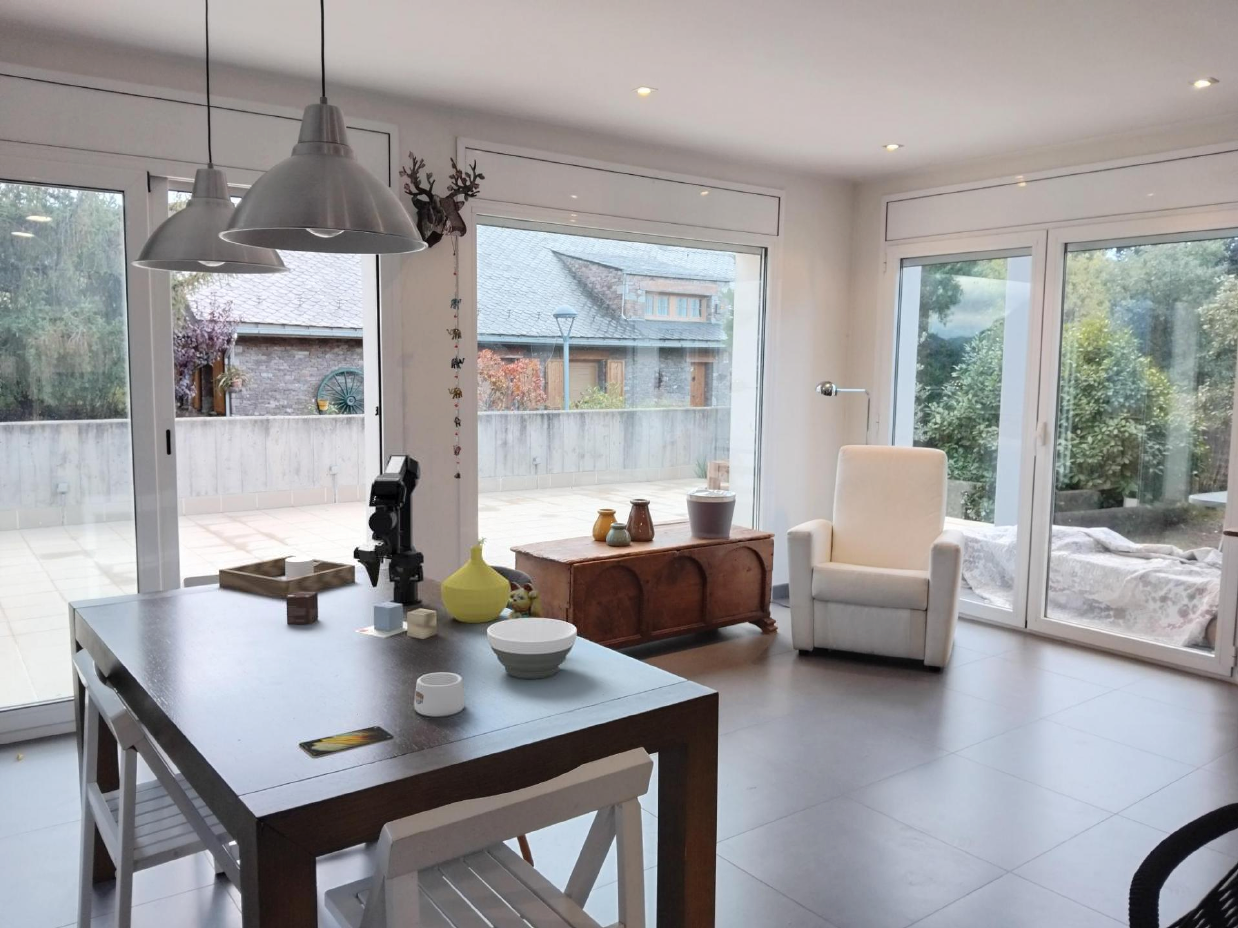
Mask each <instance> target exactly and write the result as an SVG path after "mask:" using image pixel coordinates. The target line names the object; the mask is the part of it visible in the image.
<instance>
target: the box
mask: <svg viewBox="0 0 1238 928" xmlns="http://www.w3.org/2000/svg"><path fill="white" fill-rule="evenodd" d="M318 593H319V592H318V591H315V592H301V591H296V592H294V593H292V594H290V595H288V596H287V597H286V599H285V600H286V601H285V602H286V624H287V625H311V624H312V623H314V622H315V621H317V620H318V619H319V604H318V603H319V598H318Z"/></svg>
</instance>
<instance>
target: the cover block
mask: <svg viewBox="0 0 1238 928" xmlns="http://www.w3.org/2000/svg"><path fill="white" fill-rule="evenodd" d="M406 614H407V615H406V622H407V630H406V631H407V632H406V635H407V637H410V638H411V637H412V638H417V639H421V640H424V639H426V638H429V637H432V636H435V635H437V610H431V609H426V608H417V609H414V610H412V611H408V612H406Z"/></svg>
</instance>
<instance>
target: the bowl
mask: <svg viewBox="0 0 1238 928" xmlns="http://www.w3.org/2000/svg"><path fill="white" fill-rule="evenodd" d="M577 635H578V629H577V627H576V626H575V625H574V624H572V623H569V622H567V621H564V620H560V619H553V618H547V617H546V618H545V617H542V618H519V619H511V620H507V619H506V620H501V621H497V622H495V623H493V624H491V625H489V626H488V628H487V629H486V637H487V641H488V645H489V646H490V648H491V650H492V652H494V654H495V655H496V657H497V660H498V661H499V663H500V664H501V665H502V666H504V669H505V672H506V674H508V675H510V676H512V677H514V678H517V679H523V680H539V679H545V678H548V677H551V676H553V675H554V674H556V673H557V672H558V670H559V667H560V665H562V664H563V662H565V660H566V658H567V656H568V654H569V653H570V652H571V650H572V648H573V647H574V645H575V643H576V639H577Z"/></svg>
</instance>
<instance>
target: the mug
mask: <svg viewBox="0 0 1238 928" xmlns="http://www.w3.org/2000/svg"><path fill="white" fill-rule="evenodd" d="M415 686H416V687H415V694H414V702H413V705H414V710H415V711H416V712H417V713H418V714H419V715H421V716H426V717H432V718H433V717H434V718H435V717H438V718H440V717H447V716H452V715H455V714H458V713H460V712H461V711H462V710H463V709H464V708H465V706H466V705H465V704H466V698H465V690H464V682H463V678H462V676H460V674H457V673H454V672H453V673H452V672H441V671H440V672H430V673H427V674H423V675H422V676H420V677H418V678H417V680H416V684H415Z"/></svg>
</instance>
